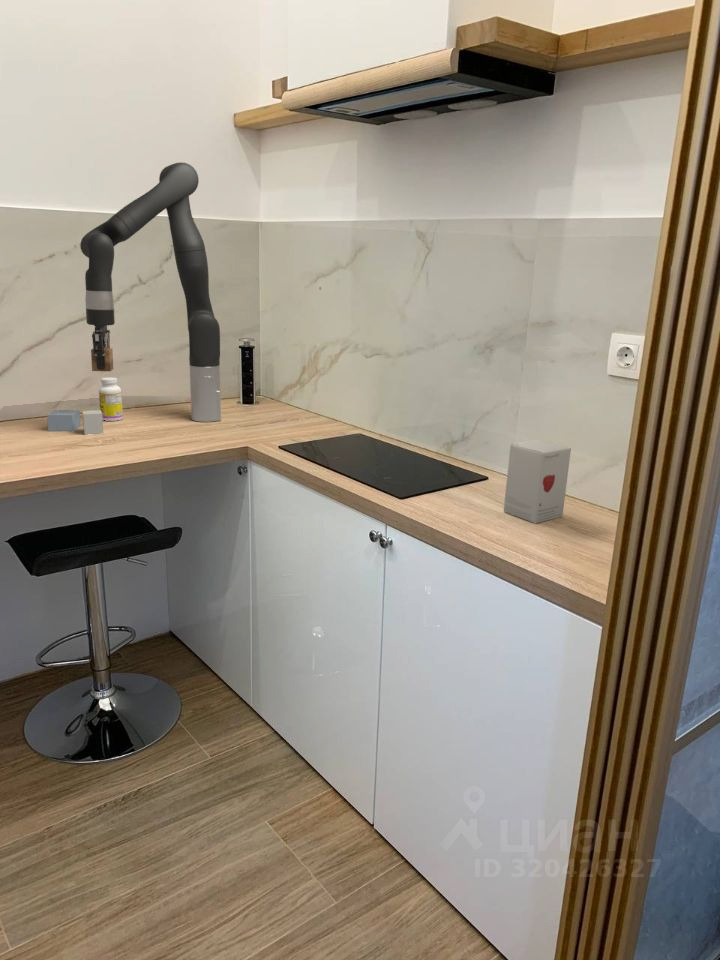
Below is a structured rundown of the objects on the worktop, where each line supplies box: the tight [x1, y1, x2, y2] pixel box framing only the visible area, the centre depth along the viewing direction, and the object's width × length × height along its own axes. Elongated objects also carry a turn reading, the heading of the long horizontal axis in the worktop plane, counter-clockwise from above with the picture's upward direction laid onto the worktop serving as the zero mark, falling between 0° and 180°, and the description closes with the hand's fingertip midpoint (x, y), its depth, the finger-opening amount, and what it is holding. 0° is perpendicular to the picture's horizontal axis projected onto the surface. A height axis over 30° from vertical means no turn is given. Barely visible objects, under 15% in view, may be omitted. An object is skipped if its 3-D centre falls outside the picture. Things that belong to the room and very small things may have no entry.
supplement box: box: [503, 439, 572, 524], centre depth 150 cm, size 9×9×15 cm
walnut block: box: [90, 347, 114, 372], centre depth 208 cm, size 5×5×6 cm
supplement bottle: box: [98, 377, 124, 422], centre depth 224 cm, size 7×7×13 cm
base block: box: [46, 409, 82, 433], centre depth 212 cm, size 7×7×5 cm
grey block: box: [81, 409, 104, 436], centre depth 208 cm, size 5×5×6 cm
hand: (102, 367), depth 209 cm, fingers closed on walnut block, 5 cm apart
